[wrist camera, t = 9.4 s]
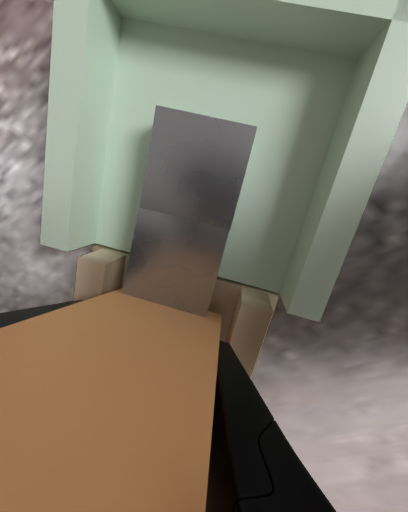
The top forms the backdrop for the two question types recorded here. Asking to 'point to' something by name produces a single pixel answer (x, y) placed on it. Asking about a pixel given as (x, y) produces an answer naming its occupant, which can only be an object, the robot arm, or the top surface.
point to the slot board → (223, 302)
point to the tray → (233, 109)
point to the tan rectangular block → (107, 408)
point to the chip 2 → (174, 261)
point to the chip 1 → (196, 166)
